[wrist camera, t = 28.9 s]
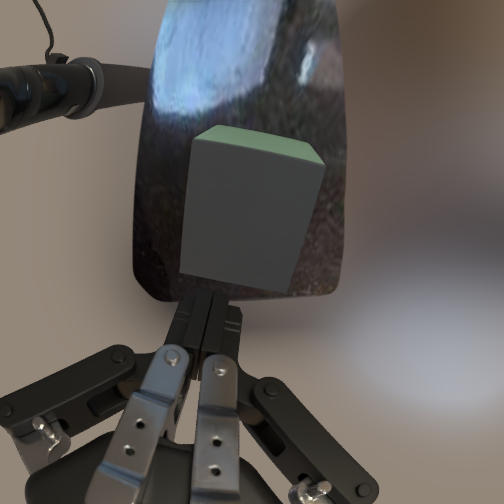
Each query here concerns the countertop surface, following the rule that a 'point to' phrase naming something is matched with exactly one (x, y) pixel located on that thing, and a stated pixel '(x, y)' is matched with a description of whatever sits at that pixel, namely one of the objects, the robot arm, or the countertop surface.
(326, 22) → the countertop surface
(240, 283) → the pod lid
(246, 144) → the mint green storage bin
